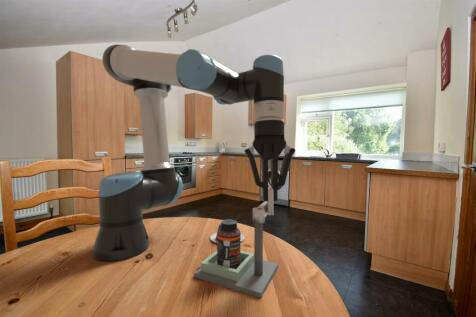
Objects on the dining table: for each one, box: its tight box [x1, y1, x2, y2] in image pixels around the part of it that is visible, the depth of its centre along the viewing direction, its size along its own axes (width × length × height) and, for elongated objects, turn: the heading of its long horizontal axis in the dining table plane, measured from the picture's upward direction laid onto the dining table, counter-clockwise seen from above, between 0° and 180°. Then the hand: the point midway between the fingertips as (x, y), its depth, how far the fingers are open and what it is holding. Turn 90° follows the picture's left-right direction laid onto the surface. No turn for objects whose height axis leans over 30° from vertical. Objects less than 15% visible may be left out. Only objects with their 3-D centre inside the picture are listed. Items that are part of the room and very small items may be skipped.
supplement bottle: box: [216, 218, 242, 269], centre depth 55 cm, size 6×6×11 cm
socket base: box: [193, 222, 279, 299], centre depth 54 cm, size 17×13×13 cm
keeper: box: [252, 201, 268, 224], centre depth 56 cm, size 13×3×3 cm, turn 159°
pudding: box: [209, 223, 245, 244], centre depth 75 cm, size 12×12×5 cm
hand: (270, 213), depth 55 cm, fingers closed
